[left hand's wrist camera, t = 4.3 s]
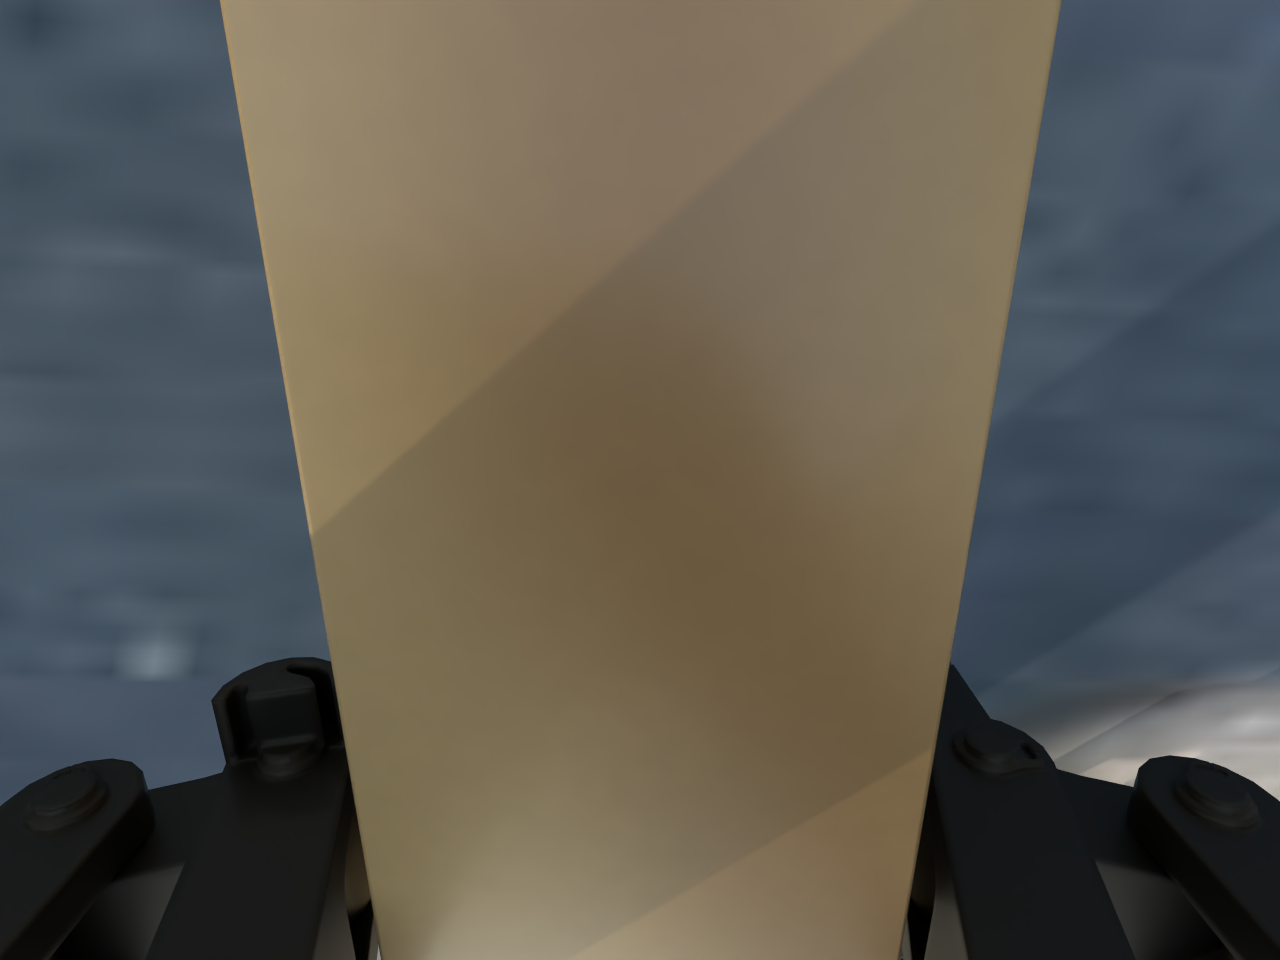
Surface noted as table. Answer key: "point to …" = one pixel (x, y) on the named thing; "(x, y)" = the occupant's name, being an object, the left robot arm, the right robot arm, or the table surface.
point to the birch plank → (640, 441)
